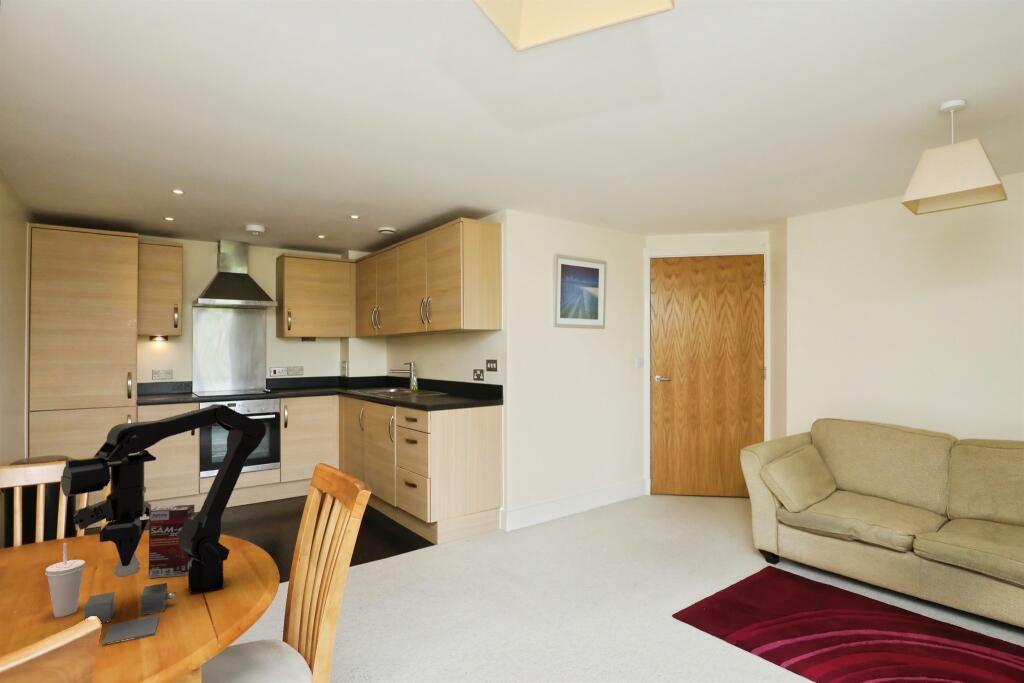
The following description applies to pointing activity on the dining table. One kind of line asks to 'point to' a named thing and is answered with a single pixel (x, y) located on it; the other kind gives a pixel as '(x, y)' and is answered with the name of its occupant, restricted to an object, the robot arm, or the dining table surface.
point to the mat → (131, 629)
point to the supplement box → (168, 541)
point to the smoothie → (65, 584)
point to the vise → (150, 602)
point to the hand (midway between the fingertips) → (127, 562)
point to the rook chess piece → (127, 567)
